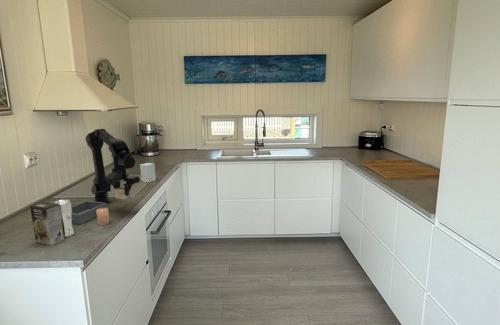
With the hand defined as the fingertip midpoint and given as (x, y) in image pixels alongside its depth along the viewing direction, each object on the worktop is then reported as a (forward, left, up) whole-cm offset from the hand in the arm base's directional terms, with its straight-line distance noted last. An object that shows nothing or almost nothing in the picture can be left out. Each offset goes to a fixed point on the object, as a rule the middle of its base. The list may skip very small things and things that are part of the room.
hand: (122, 195), depth 163 cm
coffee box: (+37, -7, -10) cm, 39 cm away
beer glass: (+30, -6, -10) cm, 32 cm away
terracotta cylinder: (+15, 0, -9) cm, 18 cm away
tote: (+11, -16, -9) cm, 21 cm away
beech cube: (0, 0, -1) cm, 1 cm away
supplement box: (-57, -27, -10) cm, 64 cm away
